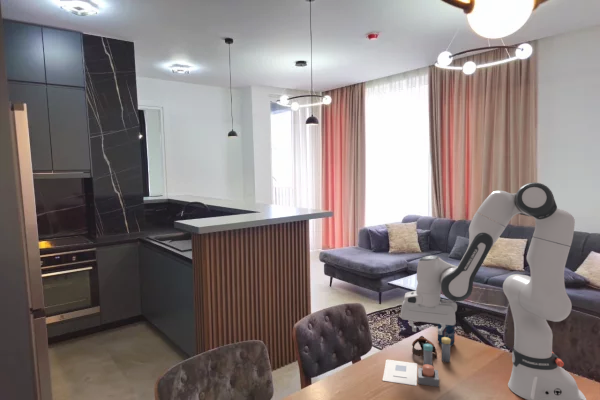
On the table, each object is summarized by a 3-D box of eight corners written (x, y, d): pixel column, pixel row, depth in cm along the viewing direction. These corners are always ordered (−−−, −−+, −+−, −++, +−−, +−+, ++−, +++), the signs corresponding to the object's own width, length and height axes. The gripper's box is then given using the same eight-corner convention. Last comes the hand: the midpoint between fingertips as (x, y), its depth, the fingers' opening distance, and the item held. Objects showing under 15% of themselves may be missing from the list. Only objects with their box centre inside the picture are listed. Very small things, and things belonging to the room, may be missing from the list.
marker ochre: (450, 359, 154) (450, 337, 153) (450, 363, 150) (450, 341, 150) (441, 357, 155) (441, 336, 154) (441, 361, 151) (441, 340, 151)
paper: (417, 363, 150) (417, 363, 150) (416, 385, 135) (416, 385, 135) (386, 359, 154) (386, 359, 154) (382, 380, 139) (382, 380, 139)
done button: (433, 374, 140) (433, 365, 139) (434, 380, 136) (434, 370, 136) (422, 372, 141) (422, 363, 141) (422, 378, 137) (422, 369, 137)
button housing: (437, 376, 141) (438, 370, 141) (438, 386, 134) (438, 380, 134) (418, 373, 143) (418, 367, 143) (418, 383, 136) (418, 377, 136)
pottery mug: (441, 362, 152) (433, 347, 150) (420, 370, 154) (411, 355, 152) (433, 341, 164) (426, 327, 162) (413, 349, 166) (405, 335, 163)
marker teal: (432, 366, 148) (432, 344, 148) (432, 370, 145) (432, 348, 144) (423, 365, 149) (423, 343, 149) (423, 369, 146) (423, 347, 145)
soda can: (447, 348, 163) (447, 321, 162) (434, 342, 169) (434, 316, 168) (457, 344, 166) (458, 318, 165) (445, 338, 172) (445, 313, 171)
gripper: (456, 298, 145) (455, 333, 146) (401, 292, 151) (400, 326, 152) (458, 303, 139) (456, 339, 140) (400, 297, 145) (399, 332, 146)
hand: (427, 332), depth 146 cm, fingers open, 8 cm apart
